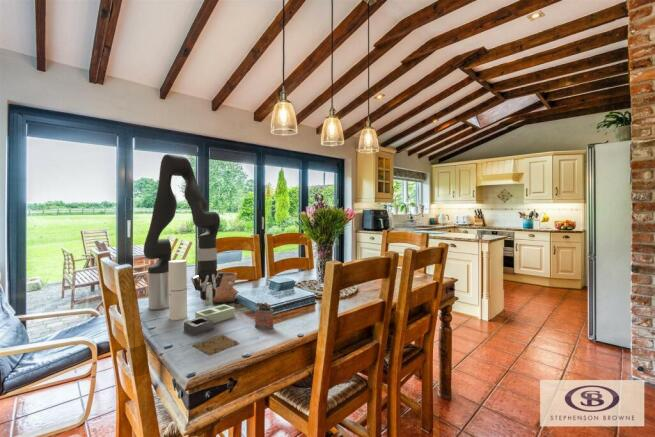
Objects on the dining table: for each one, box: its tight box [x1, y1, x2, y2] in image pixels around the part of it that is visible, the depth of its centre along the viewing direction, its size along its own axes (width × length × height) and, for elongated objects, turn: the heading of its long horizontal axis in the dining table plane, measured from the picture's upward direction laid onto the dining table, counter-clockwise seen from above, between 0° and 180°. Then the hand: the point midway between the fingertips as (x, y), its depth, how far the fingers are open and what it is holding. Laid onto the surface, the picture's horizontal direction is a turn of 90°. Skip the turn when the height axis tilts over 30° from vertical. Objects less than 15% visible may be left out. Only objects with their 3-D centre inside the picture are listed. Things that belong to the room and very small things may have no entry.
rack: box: [194, 303, 236, 324], centre depth 135 cm, size 8×14×4 cm, turn 142°
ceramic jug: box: [213, 271, 240, 304], centre depth 162 cm, size 18×14×14 cm
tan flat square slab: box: [191, 334, 240, 356], centre depth 110 cm, size 12×12×1 cm
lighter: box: [254, 302, 274, 331], centre depth 125 cm, size 8×3×10 cm, turn 71°
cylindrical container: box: [168, 259, 188, 321], centre depth 137 cm, size 7×7×25 cm
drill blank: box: [203, 282, 214, 307], centre depth 132 cm, size 4×4×9 cm
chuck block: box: [183, 317, 215, 337], centre depth 122 cm, size 8×8×4 cm
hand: (208, 298), depth 132 cm, fingers closed on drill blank, 3 cm apart
